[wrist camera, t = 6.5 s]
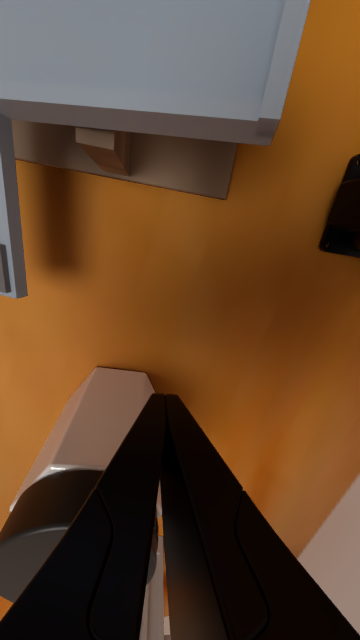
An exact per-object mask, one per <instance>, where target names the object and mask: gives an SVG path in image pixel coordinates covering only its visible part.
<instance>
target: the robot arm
mask: <svg viewBox="0 0 360 640" xmlns="http://www.w3.org/2000/svg"><path fill="white" fill-rule="evenodd" d="M358 160H359V165H357V161H358ZM327 243H329V245H328V247H327V248H326V244H327ZM319 247H320V250H321V251H324V252H330V253H336V254H342V255H347V256H353V257H359V258H360V154H358V155H356V156H354V157H353V158H352V159H351V160H350V162H349V165H348V168H347V171H346V173H345V176H344V179H343V182H342V184H341V186H340V188H339V191H338V194H337V196H336V199H335V202H334V205H333V207H332V210H331V213H330V216H329V218H328V223H327V226H326V228H325V231H324V234H323V236H322V239H321V242H320V246H319ZM159 482H160V490H161V505H162V519H163V534H164V548H165V563H166V577H167V591H168V606H169V620H170V635H171V640H360V635H359V634H358V633H357V631H356V630H355V629H354V628H353V627H352V625H351V624H350V623H349V622H348V621H347V619H346V618H345V617H344V616H343V615H342V613H341V612H340V611H339V610H338V608H337V607H336V606H335V605H334V604H333V603H332V601H331V600H330V599H329V598H328V597H327V595H326V594H325V593H324V592H323V590H322V589H321V588H320V587H319V585H318V584H317V583H316V582H315V581H314V579H313V578H312V577H311V576H310V575H309V574H308V572H307V571H306V570H305V569H304V567H303V566H302V565H301V564H300V563H299V561H298V560H297V559H296V558H295V556H294V555H293V554H292V553H291V551H290V550H289V549H288V548H287V546H286V545H285V544H284V543H283V541H282V540H281V539H280V538H279V536H278V535H277V534H276V533H275V531H274V530H273V529H272V527H271V526H270V525H269V523H268V522H267V520H266V519H265V518H264V516H263V515H262V514H261V512H260V511H259V510H258V508H257V507H256V506H255V504H254V503H253V501H252V500H251V498H250V497H249V496H248V494H247V493H246V491H243V487H242V486H241V484H240V483H239V482H238V480H237V479H236V477H235V476H234V474H233V473H232V472H231V470H230V469H229V467H228V466H227V464H226V463H225V462H224V460H223V459H222V457H221V456H220V455H219V453H218V452H217V450H216V449H215V447H214V446H213V445H212V443H211V442H210V440H209V439H208V437H207V436H206V435H205V433H204V432H203V430H202V429H201V428H200V426H199V425H198V423H197V422H196V420H195V419H194V418H193V416H192V415H191V413H190V412H189V410H188V409H187V408H186V406H185V405H184V403H183V402H182V401H181V399H180V398H179V396H178V395H174V394H166V395H164V394H160V393H152V394H151V396H150V397H149V399H148V401H147V402H146V404H145V406H144V407H143V409H142V410H141V412H140V414H139V415H138V417H137V419H136V420H135V422H134V423H133V425H132V427H131V428H130V430H129V432H128V433H127V435H126V436H125V438H124V440H123V441H122V443H121V445H120V446H119V448H118V450H117V451H116V453H115V454H114V456H113V458H112V459H111V461H110V463H109V464H108V466H107V467H106V469H105V471H104V472H103V474H102V476H101V477H100V479H99V480H98V482H97V484H96V485H95V489H93V490H92V492H91V493H90V495H89V496H88V498H87V500H86V501H85V503H84V505H83V506H82V508H81V509H80V511H79V512H78V514H77V515H76V517H75V518H74V520H73V522H72V523H71V525H70V526H69V528H68V529H67V531H66V532H65V534H64V535H63V537H62V538H61V539H60V541H59V542H58V544H57V545H56V546H55V548H54V549H53V551H52V552H51V553H50V555H49V556H48V558H47V559H46V560H45V562H44V563H43V565H42V566H41V567H40V569H39V570H38V571H37V573H36V574H35V575H34V577H33V578H32V579H31V581H30V582H29V583H28V585H27V586H26V587H25V589H24V590H23V591H22V593H21V594H20V595H19V597H18V598H17V599H16V601H15V602H14V603H13V605H12V606H11V607H10V609H9V610H8V611H7V613H6V614H5V615H4V617H3V618H2V619H1V621H0V640H139V638H140V630H141V622H142V615H143V607H144V599H145V591H146V583H147V576H148V568H149V560H150V552H151V544H152V537H153V529H154V521H155V513H156V505H157V498H158V490H159Z"/></svg>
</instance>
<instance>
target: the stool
mask: <svg viewBox="0 0 360 640" xmlns="http://www.w3.org/2000/svg"><path fill="white" fill-rule="evenodd" d="M139 640H171V635H164V603H163V536H158V549H157V564H156V570H155V573H154V575H153V577H152V579H151V581H150V582H149V583H148V584H147V585H146V591H145V599H144V607H143V615H142V622H141V630H140V638H139Z"/></svg>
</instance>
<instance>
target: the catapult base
mask: <svg viewBox="0 0 360 640" xmlns="http://www.w3.org/2000/svg"><path fill="white" fill-rule="evenodd" d="M11 121H12V132H13V143H14V154H15V159H16V160H21V161H26V162H32V163H37V164H42V165H47V166H52V167H57V168H62V169H68V170H73V171H78V172H83V173H88V174H93V175H98V176H104V177H109V178H114V179H119V180H124V181H129V182H134V183H140V184H145V185H150V186H155V187H160V188H165V189H170V190H176V191H181V192H186V193H191V194H196V195H201V196H206V197H212V198H217V199H222V200H225V199H226V197H227V192H228V187H229V182H230V177H231V172H232V168H233V163H234V158H235V153H236V148H237V143H235V142H225V141H215V140H205V139H196V138H186V137H176V136H167V135H157V134H147V133H137V132H128V131H118V130H108V129H98V128H89V127H79V126H69V125H60V124H50V123H40V122H30V121H21V120H11Z"/></svg>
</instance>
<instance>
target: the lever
mask: <svg viewBox="0 0 360 640" xmlns="http://www.w3.org/2000/svg"><path fill="white" fill-rule="evenodd" d="M309 4H310V0H0V295H4V296H8V297H12V298H16V299H17V298H21V297H25V296H28V294H27V283H26V272H25V261H24V250H23V240H22V229H21V218H20V207H19V197H18V186H17V175H16V164H15V154H14V143H13V132H12V121H11V120H21V121H30V122H40V123H50V124H60V125H69V126H79V127H89V128H98V129H108V130H118V131H128V132H137V133H147V134H157V135H167V136H176V137H186V138H196V139H205V140H215V141H225V142H235V143H244V144H254V145H264V146H270V144H271V141H272V139H273V136H274V134H275V131H276V129H277V126H278V124H279V121H280V118H281V114H282V110H283V107H284V103H285V99H286V95H287V91H288V87H289V83H290V79H291V75H292V71H293V67H294V63H295V59H296V55H297V52H298V48H299V44H300V40H301V36H302V32H303V28H304V24H305V20H306V16H307V12H308V8H309Z"/></svg>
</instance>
